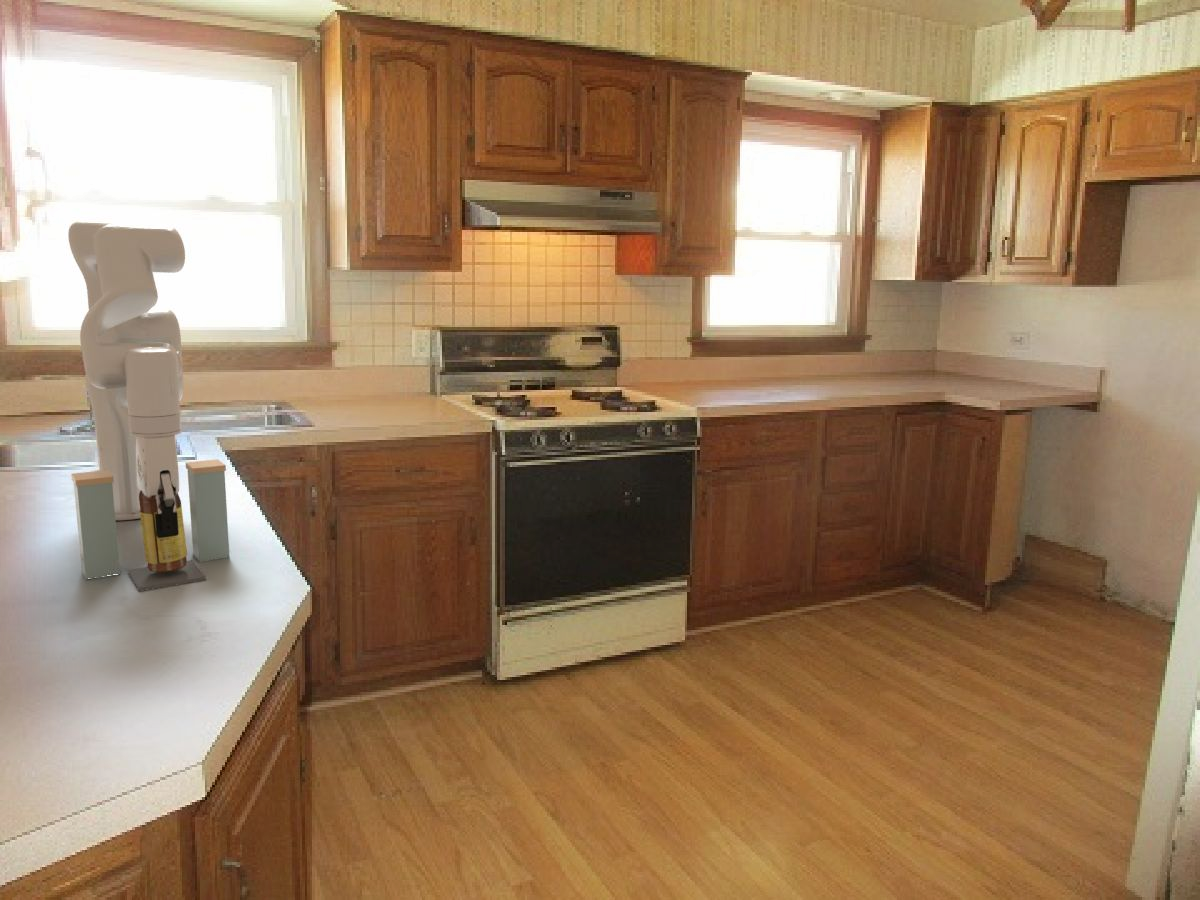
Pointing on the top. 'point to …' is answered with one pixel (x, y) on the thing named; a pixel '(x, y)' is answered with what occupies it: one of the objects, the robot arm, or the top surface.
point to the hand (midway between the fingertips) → (163, 529)
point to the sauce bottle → (165, 550)
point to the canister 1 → (96, 523)
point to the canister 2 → (208, 509)
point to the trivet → (166, 576)
